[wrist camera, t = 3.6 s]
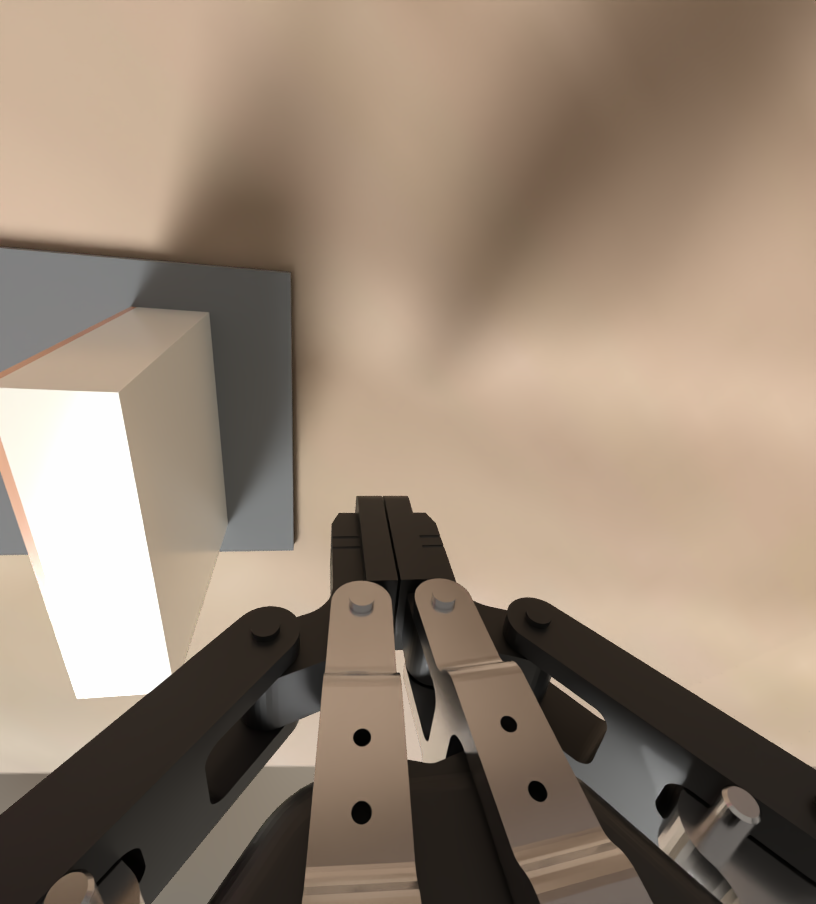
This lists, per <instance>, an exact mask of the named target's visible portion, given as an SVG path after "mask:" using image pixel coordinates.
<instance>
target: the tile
mask: <svg viewBox="0 0 816 904" xmlns="http://www.w3.org/2000/svg"><path fill="white" fill-rule="evenodd" d="M0 472H1V475H2V478H3V481H4V484H5V487H6V490H7V493H8V496H9V499H10V501H11V504H12V507H13V510H14V513H15V516H16V519H17V522H18V525H19V528H20V531H21V534H22V537H23V540H24V543H25V546H26V549H27V552H28V555H29V558H30V561H31V564H32V567H33V570H34V573H35V576H36V579H37V582H38V585H39V587H40V590H41V593H42V596H43V599H44V602H45V605H46V608H47V611H48V614H49V617H50V620H51V623H52V626H53V629H54V632H55V635H56V638H57V641H58V644H59V647H60V650H61V653H62V656H63V659H64V662H65V665H66V668H67V671H68V673H69V676H70V679H71V682H72V685H73V688H74V691H75V694H76V697H77V699H79V698H94V697H109V696H124V695H139V694H148V693H149V692H151V691H152V690H153V689H154V688H155V687H157V686H158V685H159V684H160V683H162V682H163V681H164V680H165V679H166V678H168V677H169V676H170V675H171V674H173V673H174V672H175V671H176V670H177V669H179V668H180V667H181V666H182V665H183V664H184V662H185V658H186V655H187V652H188V649H189V646H190V643H191V639H192V636H193V633H194V630H195V627H196V624H197V621H198V617H199V614H200V611H201V608H202V605H203V602H204V598H205V595H206V592H207V589H208V586H209V583H210V579H211V576H212V573H213V570H214V567H215V564H216V560H217V557H218V554H219V551H220V548H221V545H222V541H223V538H224V535H225V532H226V529H227V526H228V519H227V507H226V496H225V485H224V474H223V462H222V451H221V440H220V428H219V417H218V406H217V395H216V383H215V372H214V361H213V349H212V338H211V327H210V316H209V312H199V311H185V310H171V309H157V308H143V307H129V308H127V309H125V310H123V311H121V312H119V313H117V314H115V315H113V316H111V317H109V318H107V319H105V320H103V321H101V322H99V323H97V324H95V325H93V326H91V327H89V328H87V329H85V330H83V331H81V332H79V333H77V334H75V335H73V336H71V337H69V338H67V339H65V340H63V341H61V342H59V343H57V344H55V345H54V346H52V347H50V348H48V349H46V350H44V351H42V352H40V353H38V354H36V355H34V356H32V357H30V358H28V359H26V360H24V361H22V362H20V363H18V364H16V365H14V366H12V367H10V368H8V369H6V370H4V371H2V372H0Z"/></svg>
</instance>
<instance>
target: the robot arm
mask: <svg viewBox="0 0 816 904" xmlns="http://www.w3.org/2000/svg"><path fill="white" fill-rule="evenodd" d="M330 589H331V596H330V598H329V600H328V601H327V602H326V603H325V604H324V605H323V606H322V607H320V608H319V609H317V610H315V611H313V612H311V613H308V614H305V615H302V616H299V617H296V616H295V615H294V614H293V613H292V612H290V611H289V610H286V609H284V608H281V607H274V606H268V607H261V608H257V609H255V610H252V611H250V612H248V613H246V614H245V615H243V616H242V617H241V618H239V619H238V620H237V621H236V622H235V623H233V624H232V625H231V626H230V627H229V628H227V629H226V630H225V631H224V632H222V633H221V634H220V635H219V636H218V637H216V638H215V639H214V640H213V641H211V642H210V643H209V644H208V645H207V646H205V647H204V648H203V649H202V650H201V651H199V652H198V653H197V654H196V655H194V656H193V657H192V658H191V659H190V660H188V661H187V662H186V663H185V664H183V665H182V666H181V667H180V668H179V669H177V670H176V671H175V672H174V673H173V674H171V675H170V676H169V677H168V678H166V679H165V680H164V681H163V682H162V683H160V684H159V685H158V686H157V687H155V688H154V689H153V690H152V691H151V692H149V693H148V694H147V695H146V696H145V697H143V698H142V699H141V700H140V701H138V702H137V703H136V704H135V705H134V706H132V707H131V708H130V709H129V710H127V711H126V712H125V713H124V714H123V715H121V716H120V717H119V718H118V719H117V720H115V721H114V722H113V723H112V724H110V725H109V726H108V727H107V728H106V729H104V730H103V731H102V732H101V733H99V734H98V735H97V736H96V737H95V738H93V739H92V740H91V741H90V742H89V743H87V744H86V745H85V746H84V747H82V748H81V749H80V750H79V751H78V752H76V753H75V754H74V755H73V756H71V757H70V758H69V759H68V760H67V761H65V762H64V763H63V764H62V765H61V766H59V767H58V768H57V769H56V770H54V771H53V772H52V773H51V774H50V775H48V776H47V777H46V778H45V779H43V780H42V781H41V782H40V783H39V784H37V785H36V786H35V787H34V788H33V789H31V790H30V791H29V792H28V793H27V794H25V795H24V796H23V797H22V798H20V799H19V800H18V801H17V802H15V803H14V804H13V805H12V806H11V807H9V808H8V809H7V810H6V811H5V812H3V813H2V814H1V815H0V904H151V903H152V902H153V901H154V899H155V898H156V897H157V896H158V895H159V893H160V892H161V891H162V890H163V888H164V887H165V886H166V885H167V884H168V882H169V881H170V880H171V879H172V877H173V876H174V875H175V874H176V872H177V871H178V870H179V869H180V868H181V867H182V865H183V864H184V863H185V861H186V860H187V859H188V858H189V857H190V856H191V854H192V853H193V852H194V851H195V850H196V848H197V847H198V846H199V845H200V843H201V842H202V841H203V840H204V839H205V837H206V836H207V835H208V833H210V831H211V830H212V829H213V828H214V826H215V825H216V824H217V823H218V822H219V820H220V819H221V818H222V817H223V815H224V814H225V813H226V812H227V811H228V809H229V808H230V807H231V806H232V805H233V803H234V802H235V801H236V800H237V798H238V797H239V796H240V795H241V794H242V792H243V791H244V790H245V789H246V787H247V786H248V785H249V784H250V783H251V781H252V780H253V779H254V778H255V777H256V775H257V774H258V773H259V772H260V770H261V769H262V768H263V767H264V766H265V764H266V763H267V762H268V761H269V760H270V758H271V757H272V756H273V755H274V753H275V752H276V751H277V750H278V749H279V747H280V746H281V745H282V744H283V742H284V741H285V740H286V739H287V738H288V736H289V735H290V734H291V733H292V732H293V730H294V729H295V727H296V725H297V723H298V721H299V719H302V718H304V717H307V716H309V715H311V714H314V713H316V712H319V711H320V719H319V730H318V741H317V752H316V763H315V774H314V782H312V783H310V784H309V785H307V786H305V787H303V788H302V789H300V790H298V791H297V792H296V793H294V794H293V795H292V796H290V797H289V798H288V799H286V800H285V801H284V802H283V803H282V804H281V805H280V806H279V807H278V808H277V809H276V810H275V811H274V812H273V813H272V814H271V815H270V817H269V818H268V819H267V820H266V821H265V823H264V824H263V825H262V826H261V828H260V829H259V830H258V832H257V833H256V835H255V836H254V837H253V839H252V840H251V842H250V843H249V845H248V846H247V847H246V849H245V850H244V852H243V853H242V855H241V856H240V858H239V859H238V860H237V862H236V863H235V865H234V866H233V868H232V869H231V870H230V872H229V873H228V875H227V876H226V878H225V879H224V880H223V882H222V883H221V885H220V886H219V888H218V889H217V891H216V892H215V893H214V895H213V896H212V898H211V899H210V901H209V902H208V903H207V904H816V770H815V769H814V768H812V767H810V766H809V765H807V764H805V763H804V762H802V761H801V760H799V759H797V758H796V757H794V756H793V755H791V754H789V753H788V752H786V751H785V750H783V749H781V748H780V747H778V746H777V745H775V744H773V743H772V742H770V741H769V740H767V739H765V738H764V737H762V736H761V735H759V734H757V733H756V732H754V731H753V730H751V729H749V728H748V727H746V726H745V725H743V724H741V723H740V722H738V721H737V720H735V719H733V718H732V717H730V716H729V715H727V714H725V713H724V712H722V711H721V710H719V709H717V708H716V707H714V706H713V705H711V704H709V703H708V702H706V701H705V700H703V699H701V698H700V697H698V696H697V695H695V694H693V693H692V692H690V691H689V690H687V689H685V688H684V687H682V686H681V685H679V684H677V683H676V682H674V681H673V680H671V679H669V678H668V677H666V676H665V675H663V674H661V673H660V672H658V671H657V670H655V669H653V668H652V667H650V666H649V665H647V664H645V663H644V662H642V661H641V660H639V659H637V658H636V657H634V656H633V655H631V654H629V653H628V652H626V651H625V650H623V649H621V648H620V647H618V646H617V645H615V644H613V643H612V642H610V641H609V640H607V639H605V638H604V637H602V636H601V635H599V634H597V633H596V632H594V631H593V630H591V629H589V628H588V627H586V626H585V625H583V624H581V623H580V622H578V621H577V620H575V619H573V618H572V617H570V616H569V615H567V614H565V613H564V612H562V611H560V610H559V609H557V608H556V607H554V606H552V605H551V604H549V603H547V602H545V601H543V600H540V599H536V598H528V597H526V598H520V599H517V600H515V601H513V602H512V603H511V604H510V605H509V607H508V610H503V609H498V608H494V607H489V606H485V605H482V604H479V603H477V602H475V601H473V600H472V597H471V595H470V594H469V592H468V591H467V590H466V589H465V588H464V587H463V586H461V585H460V584H458V583H456V580H455V577H454V574H453V572H452V569H451V566H450V563H449V560H448V557H447V554H446V551H445V548H444V547H443V543H442V540H441V537H440V534H439V531H438V528H437V525H436V523H435V522H434V521H433V520H432V519H431V518H430V517H429V516H428V515H427V514H426V513H413V512H412V508H411V505H410V501H409V498H408V496H383V497H382V496H357V498H356V509H355V513H339V514H338V515H337V517H336V518H335V520H334V521H333V523H332V531H331V558H330ZM395 650H403V652H404V657H405V664H404V671H403V679H404V684H405V688H406V692H407V696H408V700H409V704H410V708H411V712H412V716H413V720H414V724H415V728H416V732H417V736H418V740H419V744H420V748H421V753H422V762H418V761H412V760H407V749H406V736H405V722H404V709H403V696H402V683H401V676H400V673H397V671H396V659H395ZM551 677H553V678H554V679H555V680H557V681H558V682H560V683H561V684H562V685H564V686H565V687H567V688H568V689H569V690H571V691H572V692H573V693H575V694H576V695H578V696H579V697H580V698H582V699H583V700H584V701H586V702H587V703H589V704H590V705H591V706H593V707H594V708H595V709H597V710H598V711H599V712H600V713H601V714H602V716H603V717H604V719H605V721H604V720H602V719H600V718H598V717H597V716H596V715H594V714H593V713H591V712H590V711H589V710H587V709H586V708H585V707H583V706H582V705H581V704H579V703H578V702H576V701H575V700H574V699H572V698H571V697H570V696H568V695H567V694H566V693H564V692H563V691H561V690H560V689H559V688H557V687H556V686H555V685H553V684H552V683H550V679H551Z"/></svg>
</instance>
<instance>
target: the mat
mask: <svg viewBox="0 0 816 904" xmlns="http://www.w3.org/2000/svg"><path fill="white" fill-rule="evenodd" d="M129 307H143V308H157V309H171V310H185V311H199V312H209V316H210V327H211V338H212V349H213V361H214V372H215V383H216V395H217V406H218V417H219V428H220V440H221V451H222V462H223V474H224V485H225V496H226V507H227V519H228V526H227V529H226V532H225V535H224V538H223V541H222V545H221V548H220V551H219V552H222V551H284V550H293V549H294V505H293V413H292V322H291V272H283V271H272V270H261V269H250V268H238V267H227V266H216V265H204V264H193V263H182V262H171V261H159V260H148V259H137V258H125V257H114V256H103V255H91V254H80V253H69V252H58V251H46V250H35V249H24V248H12V247H1V246H0V372H2V371H4V370H6V369H8V368H10V367H12V366H14V365H16V364H18V363H20V362H22V361H24V360H26V359H28V358H30V357H32V356H34V355H36V354H38V353H40V352H42V351H44V350H46V349H48V348H50V347H52V346H54V345H55V344H57V343H59V342H61V341H63V340H65V339H67V338H69V337H71V336H73V335H75V334H77V333H79V332H81V331H83V330H85V329H87V328H89V327H91V326H93V325H95V324H97V323H99V322H101V321H103V320H105V319H107V318H109V317H111V316H113V315H115V314H117V313H119V312H121V311H123V310H125V309H127V308H129ZM0 555H28V552H27V549H26V546H25V543H24V540H23V537H22V534H21V531H20V528H19V525H18V522H17V519H16V516H15V513H14V510H13V507H12V504H11V501H10V499H9V496H8V493H7V490H6V487H5V484H4V481H3V478H2V475H1V472H0Z"/></svg>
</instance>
